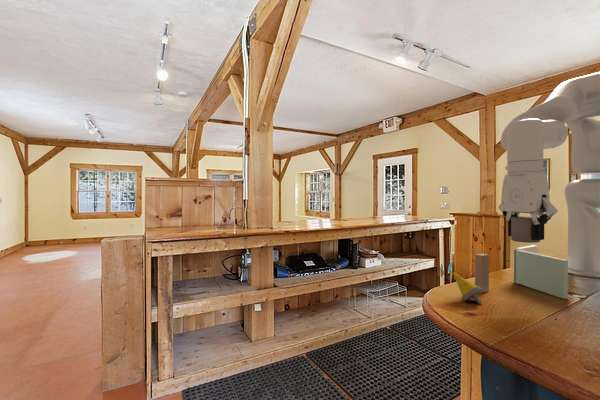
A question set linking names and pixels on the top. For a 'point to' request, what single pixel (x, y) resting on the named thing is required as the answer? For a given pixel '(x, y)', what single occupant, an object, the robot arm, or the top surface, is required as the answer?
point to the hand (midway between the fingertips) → (525, 237)
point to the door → (541, 273)
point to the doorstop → (522, 229)
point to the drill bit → (467, 288)
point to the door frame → (483, 267)
